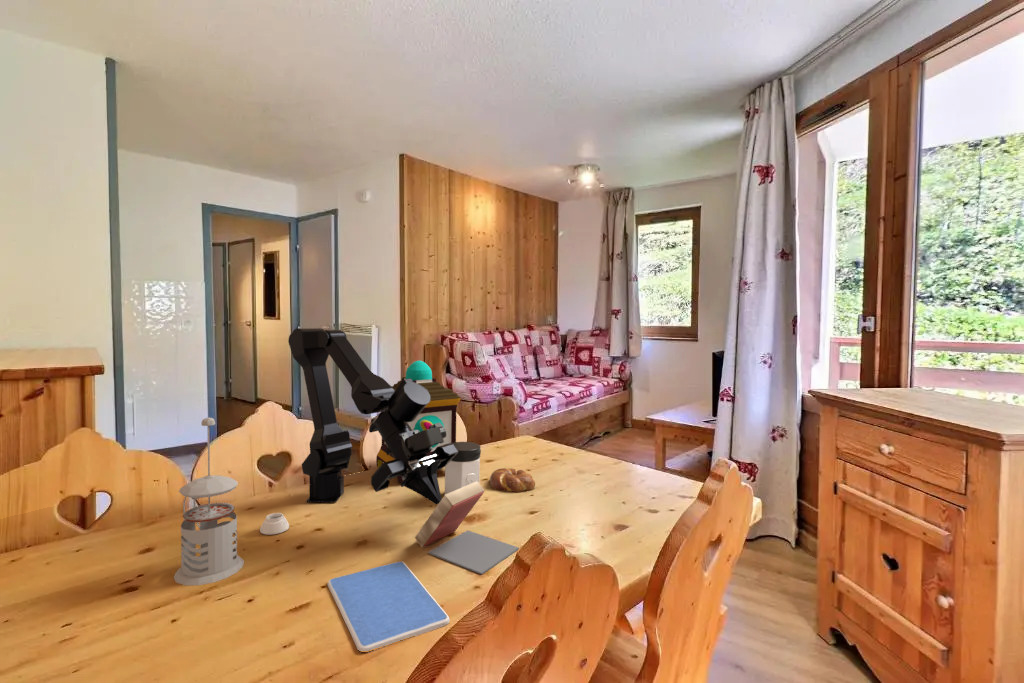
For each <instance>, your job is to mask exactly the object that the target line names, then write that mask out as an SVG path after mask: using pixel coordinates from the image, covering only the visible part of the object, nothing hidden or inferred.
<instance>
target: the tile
mask: <svg viewBox="0 0 1024 683" xmlns="http://www.w3.org/2000/svg"><path fill="white" fill-rule="evenodd" d="M484 493H485V489H484V488H483V486H482V485H481V484H480V482H479V483H478V482H477V481H476V482H474V483H471V484H469V485H467V486H464V487H462V488H460V489H457V490H455V491H453V492H450V493H448V494H446V495H445V494H444V495H443V497H441V498H442V500H441V501H440V502H439V504H437V506H436V507H435V508H434V510H433V511H432V513H431V514H430V515H429V517H428V518H427V520H426V521H425V522H424V524H423V525H422V526H421V528H420V530H419V531H418V532H417V534H416V535H415V536H414V539H415V540H416V542H417V543H418V545H420V547H421V548H426V547H427V546H430V545H432V544H433V543H436V542H437V541H439V540H441V539H443V538H444V537H447V536H449V535H450V534H452V533H454V532H456V530H457V529H458V528H459V526H460V525H461V524H462V523H463V521H464V520H465V518H467V516H468V515H469V514H470V512H471V511H472V509H473V508H474V506H476V504H477V503H478V501H480V499H481V498H482V496H483V494H484Z"/></svg>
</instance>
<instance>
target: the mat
mask: <svg viewBox="0 0 1024 683" xmlns="http://www.w3.org/2000/svg"><path fill="white" fill-rule="evenodd" d="M518 549H520V547H518V546H515V545H513V544H510V543H508V542H507V543H506V542H503V541H501V540H498V539H494V538H492V537H489V536H485V535H483V534H480V533H477V532H474V531H471V530H465V531H463V532H462V533H461V534H458V535H457V536H455V537H453V538H451V539H449V540H448V541H445V542H444V543H442V544H440V545H438V546H437V547H435V548H432V549H431V550H429V551H428V552H427V553H428V555H430V556H433V557H436V558H438V559H441V560H443V561H446V562H449V563H451V564H453V565H456V566H459V567H461V568H464V569H466V570H468V571H471V572H474V573H475V574H478V575H484V574H485V573H487V572H489V571H490V570H491V569H492V568H494V567H496V566H497V565H498V564H500V563H501V562H502V561H504V560H505V559H507V558H508V557H510V556H512V555H513V554H514V553H516V552H517V551H518Z"/></svg>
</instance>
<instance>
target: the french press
mask: <svg viewBox="0 0 1024 683" xmlns="http://www.w3.org/2000/svg"><path fill="white" fill-rule="evenodd" d="M214 425H216V421H215V419H214V418H213V417H205V418H203V419H202V420H201V426H203V427H207V475H206V476H205V475H204V476H202V477H199V478H195V479H193V480H191V481H189V482H188V483H186V484H185V485H183V486H182V487H181V488H179V490H178V492H179V493H180V494H181V495H182V496H183V497H184V499H183V502H182V507H183V508H182V512H183V513H182V518H183V521H182V522H181V524H180V534H181V536H180V537H181V538H180V542H181V544H180V550H181V554H180V555H181V556H180V558H181V559H180V560H181V562H180V563H181V566H180V567H179V568H178V569H177V571H176V572H175V574H174V576H173V579H174V581H175V583H177V584H180V585H184V586H201V585H208V584H213V583H216V582H219V581H222V580H226V579H228V578H229V577H232V575H235V574H237V573H238V572H239V571H241V569H242V568H243V567H244V563H245V560H244V559H243V558H242V557H241V556H239V554H238V515H237V514H236V513H235V512H234V510H235V506H234V505H233V504H232V503H228V502H214V503H212V502H211V497H215V496H221V495H224V494H227V493H230V492H232V491H233V490H235V489H236V488H237V486H238V484H239V481H237V480H235V479H234V478H232V477H229V476H225V475H211V462H210V461H211V460H210V458H211V457H210V456H211V455H210V426H214ZM187 498H191V500H193V507H191V508H189V509H188V510H186V508H185V507H186V499H187ZM203 498H208V499H207V502H208V503H207V504H200V505H197V506H196V503H197V501H196V500H198V499H203ZM225 518H230V519H232V521H231V520H225V521H220V522H219V523H218V521H219V520H221V519H225ZM196 524H197V527H198V530H196ZM233 535H234V536H233ZM233 542H234V544H233ZM196 545H198V546H200V548H196V547H197V546H196ZM196 554H200V555H198V556H197V555H196Z"/></svg>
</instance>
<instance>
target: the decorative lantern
mask: <svg viewBox="0 0 1024 683" xmlns="http://www.w3.org/2000/svg"><path fill="white" fill-rule="evenodd" d="M403 379H412V381H413V382H414V383H417V384H419V385H421V386H422V387H424V388H425V389H427V391H428V392H429V394H430V402H429V403H428V404H427V405H426V406H425V408H424V409H423V410H422V411H421V412H420V414H419V415H418V416H417V417H416V418H415V419H414V421H412V422H408V424H409V426H410V427H411V429H412V430H419V431H420V432H421V431H424V430H427V429H429V426H431V425H434V424H436V423H441V424H442V426H443V427H444V428H445V430H446V434H447V435H446V437H445V438H443V441H444V442H443V443H441V444H440V443H438V444H436V445H433V446H431V447H432V448H433V449H432V450H431V451H430V452H429V453H427V455H428V456H429V455H431V453H432V452H433V451H434V450H435V449H436V448H437V447H438V446H441V445H445V444H448V443H449V444H450V443H454V442H457V410H458V409H457V408H458V405H459V403H460V401H461V396H459V394H458V393H456V392H455V391H454V390H453V389H451V388H447V387H446V386H444V385H441V383H440V382H438V381H437V379H436V378H434V377H433V372H432V368H430V366H429V365H428V364H427V363H426V362H425V361H422V360H415V361H413V362H411V364H410V365H409V366H408V367H407V369H406V371H405V377H401V379H400V380H398V381H397V382H396V383H394V384H393V385H390V386H391V387H392V388H393V389H394V390H396V389H397V388H398V387H399V385H400V383H401V381H402V380H403ZM387 448H388V447H387V445H386V443H385V442H384V440H383V438H382V437H381V447H380V448H379V450H378V452H377V454H376V460H375V462H376V467H377V469H378V468H379V467H380V466H381V465H382V463H385V462H388V461H391V460H395V459H394V457H393V455H392V454H390V455H387V454H386V452H385V451H386V449H387ZM397 482H398V484H399V485H400V484H401V483H402V482H403V479H402V476H398V477H397Z"/></svg>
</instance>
